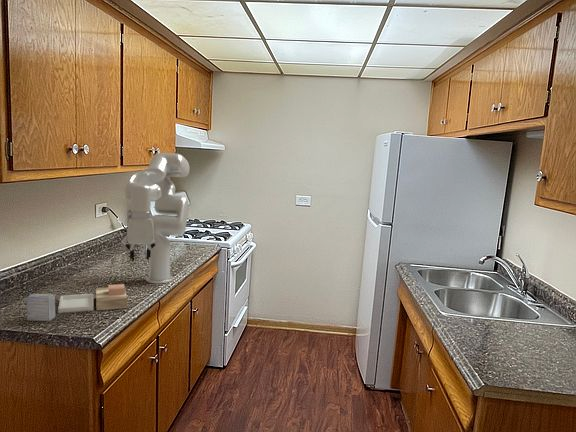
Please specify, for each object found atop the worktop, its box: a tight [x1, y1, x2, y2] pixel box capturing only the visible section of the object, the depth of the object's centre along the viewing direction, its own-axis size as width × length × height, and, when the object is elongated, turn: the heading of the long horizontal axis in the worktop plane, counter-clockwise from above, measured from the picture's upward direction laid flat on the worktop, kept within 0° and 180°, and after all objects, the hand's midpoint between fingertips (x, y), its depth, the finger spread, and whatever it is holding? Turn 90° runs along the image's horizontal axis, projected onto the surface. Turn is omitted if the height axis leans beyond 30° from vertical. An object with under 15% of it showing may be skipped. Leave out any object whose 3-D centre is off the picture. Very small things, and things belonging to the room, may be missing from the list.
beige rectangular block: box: [95, 287, 128, 311], centre depth 177 cm, size 16×11×4 cm
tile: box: [107, 283, 126, 295], centre depth 178 cm, size 6×6×2 cm
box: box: [57, 293, 95, 315], centre depth 173 cm, size 16×12×2 cm
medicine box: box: [26, 293, 56, 322], centre depth 157 cm, size 8×4×9 cm, turn 92°
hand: (140, 259), depth 180 cm, fingers open, 5 cm apart
